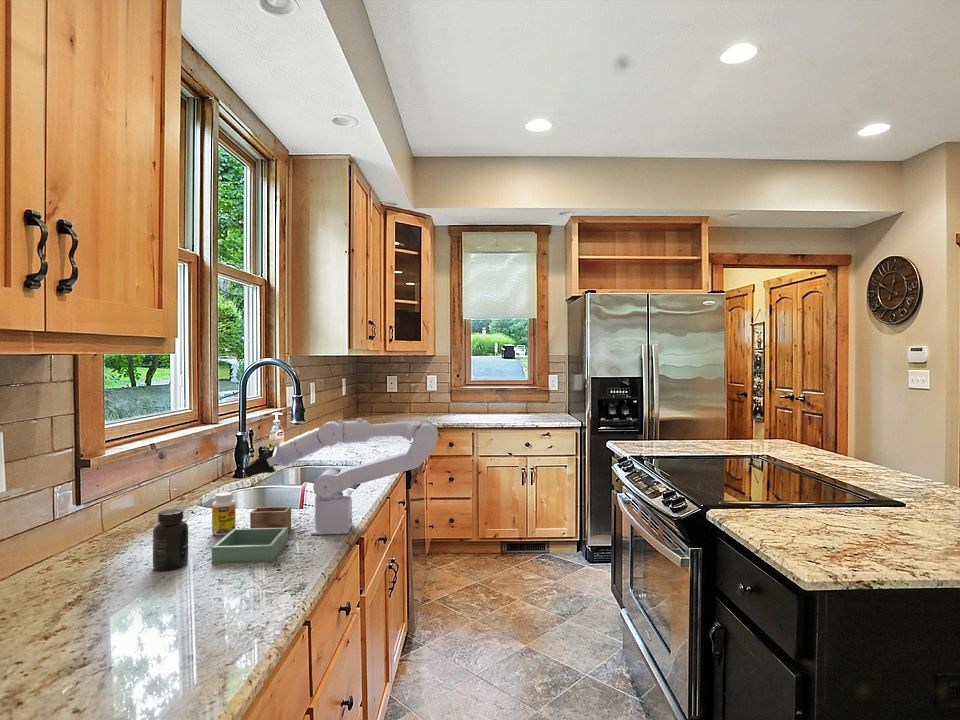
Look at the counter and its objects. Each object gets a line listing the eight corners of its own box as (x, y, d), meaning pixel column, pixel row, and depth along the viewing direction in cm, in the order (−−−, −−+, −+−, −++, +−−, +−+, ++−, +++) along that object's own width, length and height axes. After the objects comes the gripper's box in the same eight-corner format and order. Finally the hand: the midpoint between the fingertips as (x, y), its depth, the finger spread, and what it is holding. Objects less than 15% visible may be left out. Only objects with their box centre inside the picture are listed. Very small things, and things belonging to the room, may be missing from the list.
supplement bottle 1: (193, 565, 119) (193, 511, 119) (158, 574, 114) (158, 518, 114) (182, 557, 124) (182, 505, 124) (148, 566, 119) (148, 511, 119)
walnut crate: (291, 528, 145) (291, 506, 145) (286, 534, 140) (286, 511, 140) (256, 529, 144) (256, 507, 144) (250, 535, 139) (250, 512, 139)
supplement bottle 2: (216, 538, 137) (216, 497, 137) (209, 532, 141) (208, 493, 141) (238, 533, 141) (238, 493, 141) (231, 528, 145) (231, 490, 145)
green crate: (287, 543, 134) (287, 527, 134) (271, 563, 121) (271, 545, 121) (233, 544, 133) (233, 528, 133) (211, 565, 120) (211, 547, 120)
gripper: (299, 430, 150) (253, 450, 149) (285, 438, 135) (233, 461, 134) (310, 453, 150) (264, 474, 149) (296, 463, 135) (246, 486, 134)
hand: (250, 469), depth 142 cm, fingers open, 7 cm apart
